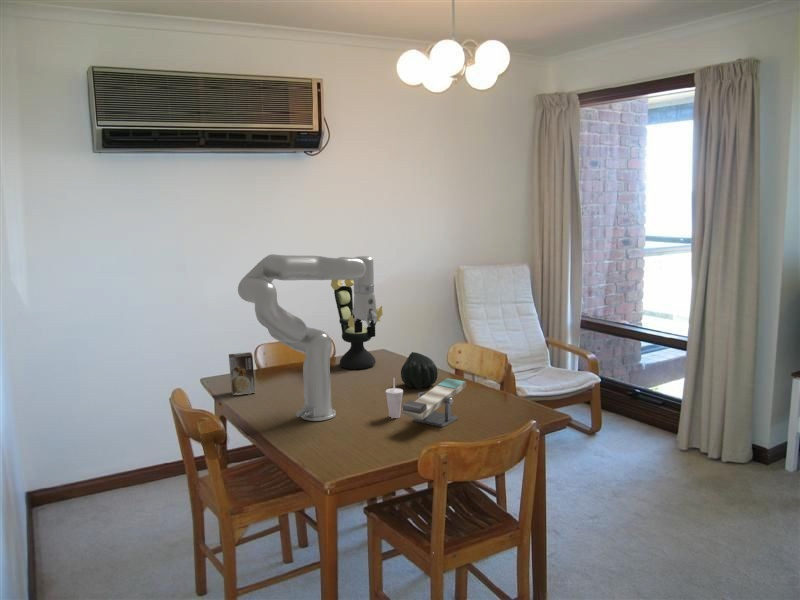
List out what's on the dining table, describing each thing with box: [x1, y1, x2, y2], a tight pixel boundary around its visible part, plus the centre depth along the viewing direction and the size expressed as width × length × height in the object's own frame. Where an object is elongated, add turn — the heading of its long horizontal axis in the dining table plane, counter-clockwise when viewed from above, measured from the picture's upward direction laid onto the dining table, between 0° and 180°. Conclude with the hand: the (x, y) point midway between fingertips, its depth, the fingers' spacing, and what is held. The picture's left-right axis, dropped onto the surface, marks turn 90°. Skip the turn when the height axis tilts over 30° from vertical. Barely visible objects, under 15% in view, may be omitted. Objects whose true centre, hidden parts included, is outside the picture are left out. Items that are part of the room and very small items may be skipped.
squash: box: [400, 351, 438, 390], centre depth 273 cm, size 14×15×15 cm
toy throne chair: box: [330, 280, 384, 370], centre depth 306 cm, size 19×22×45 cm
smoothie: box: [385, 377, 404, 419], centre depth 236 cm, size 6×6×14 cm
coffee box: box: [228, 351, 256, 395], centre depth 268 cm, size 9×6×16 cm
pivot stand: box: [412, 391, 458, 428], centre depth 232 cm, size 10×14×9 cm
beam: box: [401, 377, 467, 420], centre depth 231 cm, size 29×8×4 cm, turn 144°
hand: (364, 334), depth 249 cm, fingers open, 9 cm apart
